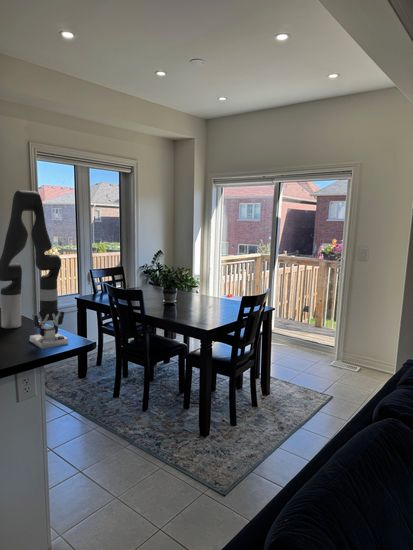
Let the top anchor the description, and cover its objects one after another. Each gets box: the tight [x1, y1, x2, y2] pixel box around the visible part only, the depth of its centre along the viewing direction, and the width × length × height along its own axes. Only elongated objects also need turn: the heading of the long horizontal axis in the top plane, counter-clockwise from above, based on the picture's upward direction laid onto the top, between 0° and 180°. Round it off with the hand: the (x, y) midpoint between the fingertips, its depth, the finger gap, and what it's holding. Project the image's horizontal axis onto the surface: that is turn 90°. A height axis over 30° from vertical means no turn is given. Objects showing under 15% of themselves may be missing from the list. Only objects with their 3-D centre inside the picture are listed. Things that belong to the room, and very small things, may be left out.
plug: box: [43, 325, 55, 340], centre depth 174 cm, size 4×4×7 cm
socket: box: [29, 332, 69, 350], centre depth 174 cm, size 14×12×3 cm
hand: (48, 334), depth 174 cm, fingers open, 5 cm apart
